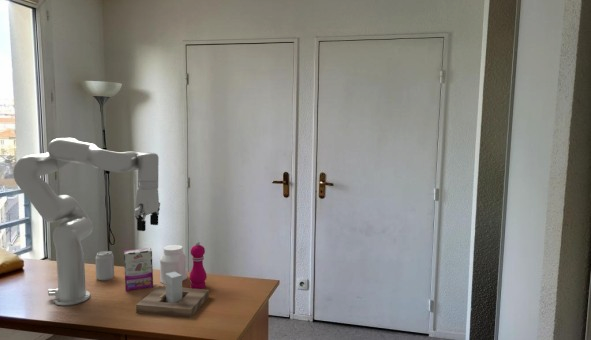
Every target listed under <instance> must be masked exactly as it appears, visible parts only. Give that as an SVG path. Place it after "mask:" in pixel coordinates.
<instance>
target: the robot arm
mask: <svg viewBox="0 0 591 340" xmlns="http://www.w3.org/2000/svg"><path fill="white" fill-rule="evenodd" d="M159 162H160V161H159V155H158V154H157V153H156V152H138V151H133V150H129V151H122V152H119V151H113V150H108V149H103V148H100V147H99V146H97V145H96V144H95V143H92V142H91V143H90V142H86V141H85V142H84V141H80V140H79V139H77V138H74V137H58V138H55V139H52V140H51V141H50V142H49V143H48V145H47V149H46V152H44V153H43V152H42V153H34V154H32V153H31V154H28V155H25V156H22V157H20V158H19V159H18V160H17V162H16V163H15V165H14V167H13V171H12V172H13V173H12V174H13V179H14V181H15V183H16V185H17V187H18V188H19V189H20V190H21V192H23V194H24V195H25V196H26V198H27V199H28V200H29V201H30V203H31V204H32V206H33V207H34V209H35V210H36V211H37V213H38V214H39V215H40V217H41V219H43V220H44V221H45V222H46V223H58V222H59V221H62V222H61V223H59V224H58V225H57V226H56V228H54V230H53V233H52V240H53V244H54V248H55V257H56V258H55V259H56V272H57V288H49V289H48V290H47V294H48V296H49V297H51V296H52V297H54V298H53V302H54V304H55V305H58V306H72V305H77V304H81V303H83V302H85V301H87V300H88V299H90V297H91V293H90V291H88V290H86V289H87V288H86V269H85V252H84V249H83V246H82V242H81V241H83V240H85V239H86V238H88V237H89V236H91V234H92V233H93V230H94V225H93V222H92V220H91V219H90V217H89V215H88V214H87V213H86V211H85V210H84V208H83V207H82V206H81V204H80V203H79V201H78V200H76V199H75V198H74V197H73V196H71V195H68V194H60V195H58V194H56V192H55V191H54V189H53V188H52V187H51V186H50V184H49V183H48V182H46V181H45V180H43V178H42V177H41V176H45V175H46V176H47V175H50V174H54V173H56V172H57V171H59V170H61V169H62V168H64V167H66V166H67V165H69V164H70V163H74V164H80V165H85V166H89V167H91V168H95V169H99V170H102V171H108V172H112V173H118V174H122V173H123V174H124V173H128V172H132V171H135V170H137V191H136V197H135V208H134V209H135V210H134V215H135V216H134V217H135V220H136V230H137V231H138V232H145V231H146V230H147V229H146V220H145V219H146V217H147V216H148V215H150V218H149V219H150V220H149V221H150V223H149V224H150V225H152V226H158V225H159V215H160V212H159V211H160V208H161V207H160V206H161V202H160V201H159V200H160V199H159V197H160V196H159V165H160V164H159Z"/></svg>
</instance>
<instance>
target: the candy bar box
mask: <svg viewBox="0 0 591 340" xmlns="http://www.w3.org/2000/svg"><path fill="white" fill-rule="evenodd" d="M152 250H153V249H152V248H151V247H148V248H147V247H146V248H138V249H130V250H128V249H127V250H123V261H124V262H123V263H124V264H123V265H124V285H125V288H124V289H125V292H131V291H132V292H133V291H137V290H139V291H140V290H144V289H145V290H146V289H152V288H154V274H153V273H154V271H153V268H154V267H153V251H152Z"/></svg>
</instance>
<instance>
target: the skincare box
mask: <svg viewBox="0 0 591 340" xmlns="http://www.w3.org/2000/svg"><path fill="white" fill-rule="evenodd" d="M165 287H166V303H178V302H179V301H180V300H181V299H182V288H183V281H182V275H180V274H179V273H177V272H171V273H167V274H166V284H165Z"/></svg>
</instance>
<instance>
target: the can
mask: <svg viewBox="0 0 591 340" xmlns="http://www.w3.org/2000/svg"><path fill="white" fill-rule="evenodd" d="M114 257H115V256H114V254H113V251H110V250H104V251H103V250H102V251H99V252H97V253H96V256H95V258H94V259H95V278H96V279H97V280H98V281H101V282H103V281H109V280H111V279H113V278H114V277H115V259H114Z"/></svg>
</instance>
